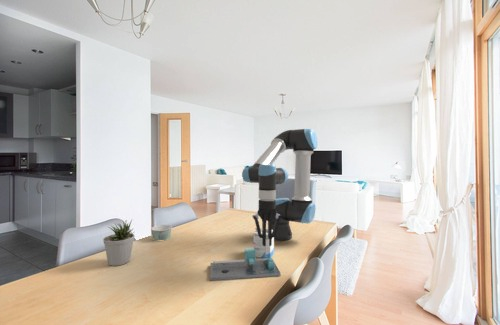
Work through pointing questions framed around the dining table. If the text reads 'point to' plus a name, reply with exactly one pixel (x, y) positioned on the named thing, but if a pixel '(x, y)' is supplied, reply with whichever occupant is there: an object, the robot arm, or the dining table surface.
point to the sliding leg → (250, 256)
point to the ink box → (259, 246)
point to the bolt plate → (243, 269)
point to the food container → (161, 232)
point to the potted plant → (119, 245)
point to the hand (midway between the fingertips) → (266, 253)
